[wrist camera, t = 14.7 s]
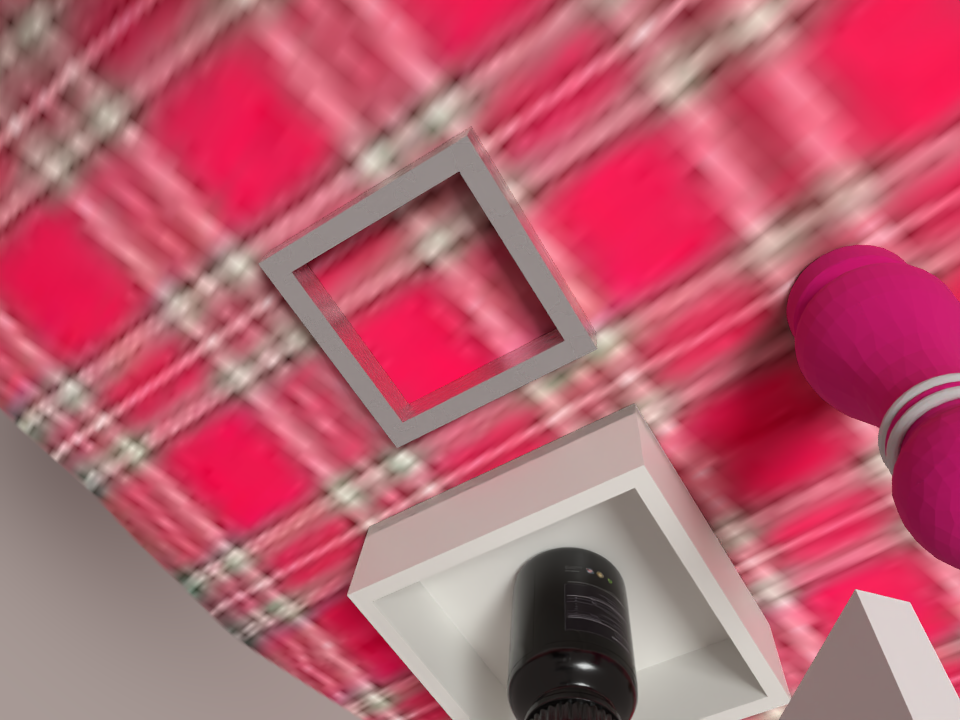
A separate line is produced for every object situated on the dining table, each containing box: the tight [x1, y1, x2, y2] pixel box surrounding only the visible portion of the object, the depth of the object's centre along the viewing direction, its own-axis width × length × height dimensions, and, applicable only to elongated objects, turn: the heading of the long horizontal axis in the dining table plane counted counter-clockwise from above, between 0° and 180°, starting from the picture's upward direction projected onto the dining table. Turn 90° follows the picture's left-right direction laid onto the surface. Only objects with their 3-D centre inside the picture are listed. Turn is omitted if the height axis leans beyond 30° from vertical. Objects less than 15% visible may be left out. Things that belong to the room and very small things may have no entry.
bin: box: [347, 403, 791, 720], centre depth 49 cm, size 18×18×6 cm
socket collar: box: [259, 127, 597, 448], centre depth 43 cm, size 12×12×2 cm
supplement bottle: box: [507, 547, 638, 720], centre depth 46 cm, size 7×7×12 cm
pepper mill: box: [787, 245, 960, 569], centre depth 34 cm, size 7×7×20 cm
